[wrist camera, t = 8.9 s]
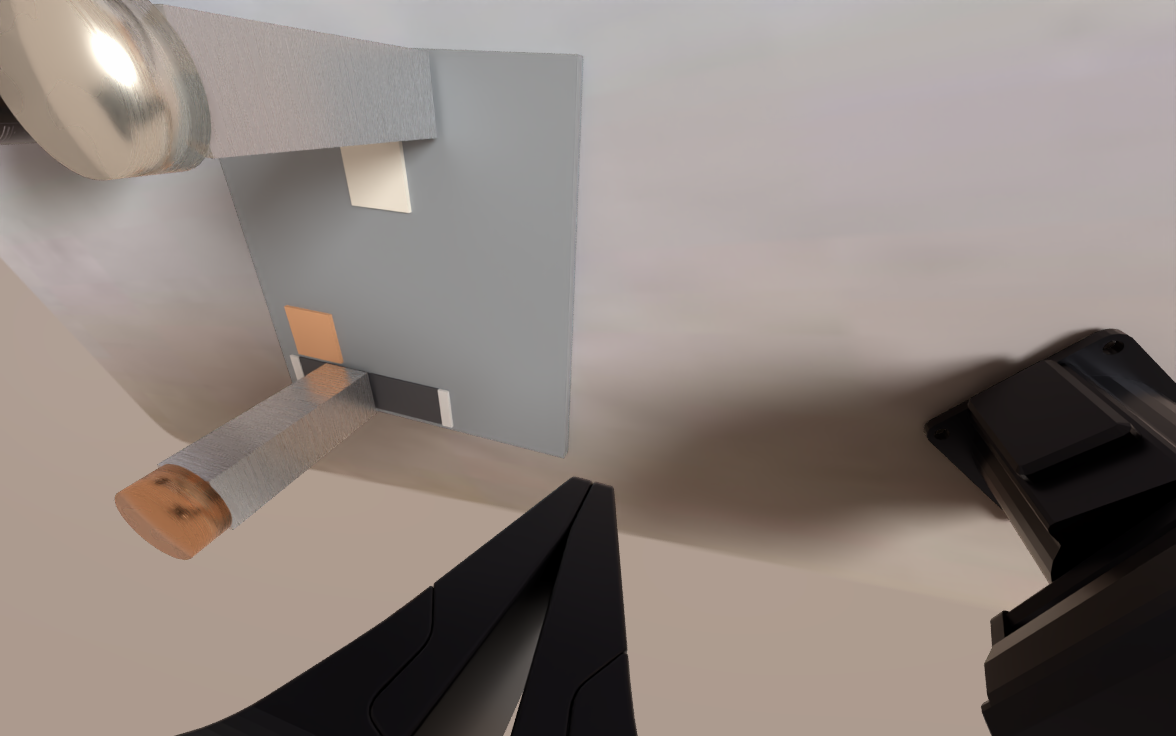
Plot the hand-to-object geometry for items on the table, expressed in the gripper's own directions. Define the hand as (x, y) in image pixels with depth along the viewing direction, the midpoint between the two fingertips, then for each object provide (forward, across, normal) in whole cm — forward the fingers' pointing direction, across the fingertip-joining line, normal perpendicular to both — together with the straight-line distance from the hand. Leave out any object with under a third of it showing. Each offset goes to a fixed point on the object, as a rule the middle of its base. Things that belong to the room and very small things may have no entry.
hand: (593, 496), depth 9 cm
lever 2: (+11, +18, +8) cm, 23 cm away
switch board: (+12, +14, +1) cm, 18 cm away
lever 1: (+11, +11, -6) cm, 17 cm away
